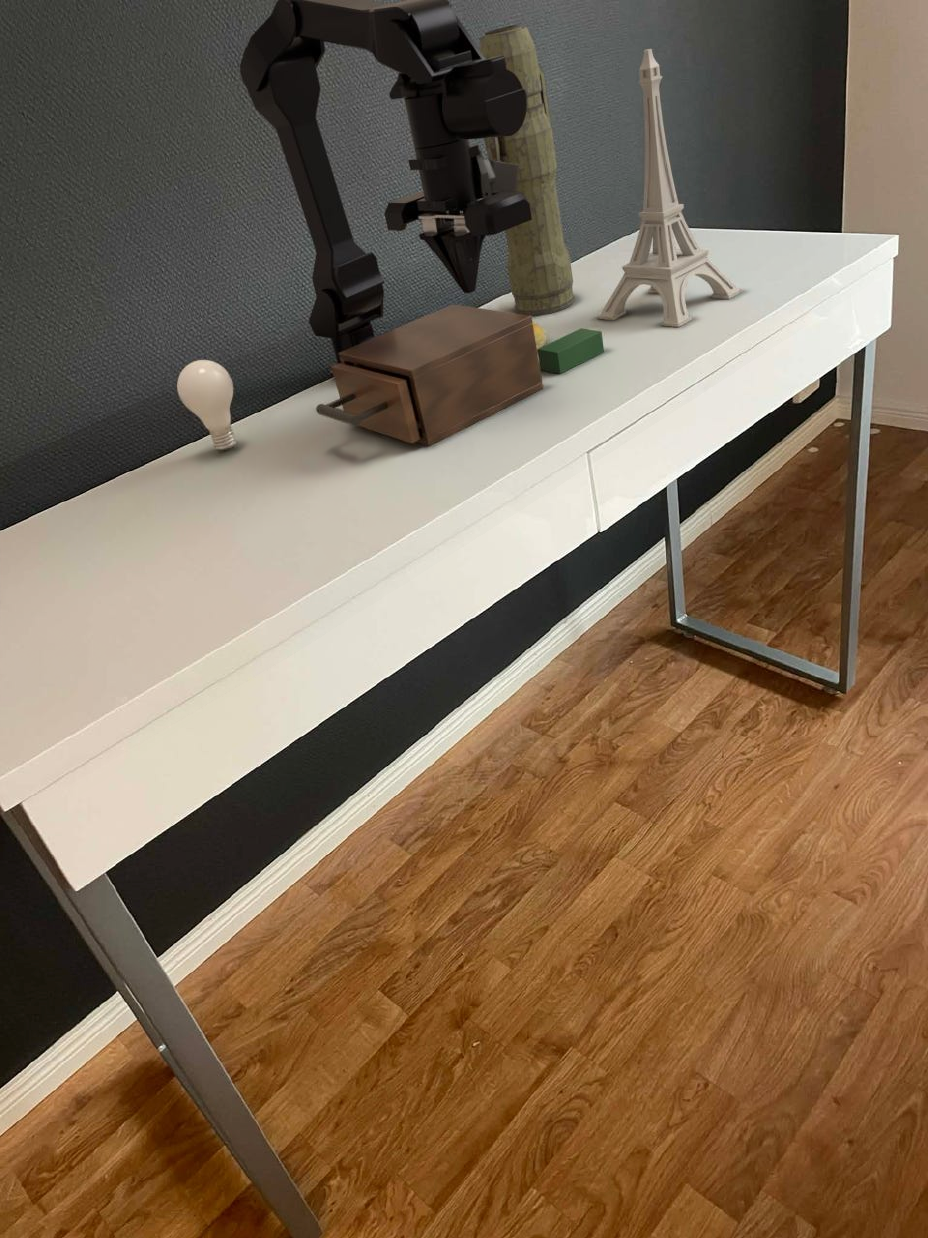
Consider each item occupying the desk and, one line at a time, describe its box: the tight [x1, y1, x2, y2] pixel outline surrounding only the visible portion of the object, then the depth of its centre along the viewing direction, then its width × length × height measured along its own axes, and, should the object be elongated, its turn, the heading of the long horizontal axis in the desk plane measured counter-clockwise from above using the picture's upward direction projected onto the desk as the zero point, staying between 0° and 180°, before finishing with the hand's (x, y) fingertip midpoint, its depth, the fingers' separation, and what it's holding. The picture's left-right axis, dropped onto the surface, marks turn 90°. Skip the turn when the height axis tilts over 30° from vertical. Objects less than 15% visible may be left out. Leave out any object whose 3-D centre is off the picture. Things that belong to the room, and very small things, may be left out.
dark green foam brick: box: [537, 327, 605, 374], centre depth 117 cm, size 8×4×3 cm, turn 129°
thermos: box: [478, 23, 576, 316], centre depth 130 cm, size 9×12×35 cm
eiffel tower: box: [597, 48, 742, 328], centre depth 120 cm, size 13×13×30 cm
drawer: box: [315, 363, 422, 444], centre depth 109 cm, size 21×13×7 cm, turn 129°
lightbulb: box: [176, 359, 237, 452], centre depth 114 cm, size 6×6×11 cm
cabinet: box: [339, 303, 544, 447], centre depth 111 cm, size 17×15×9 cm
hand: (469, 291), depth 109 cm, fingers closed
